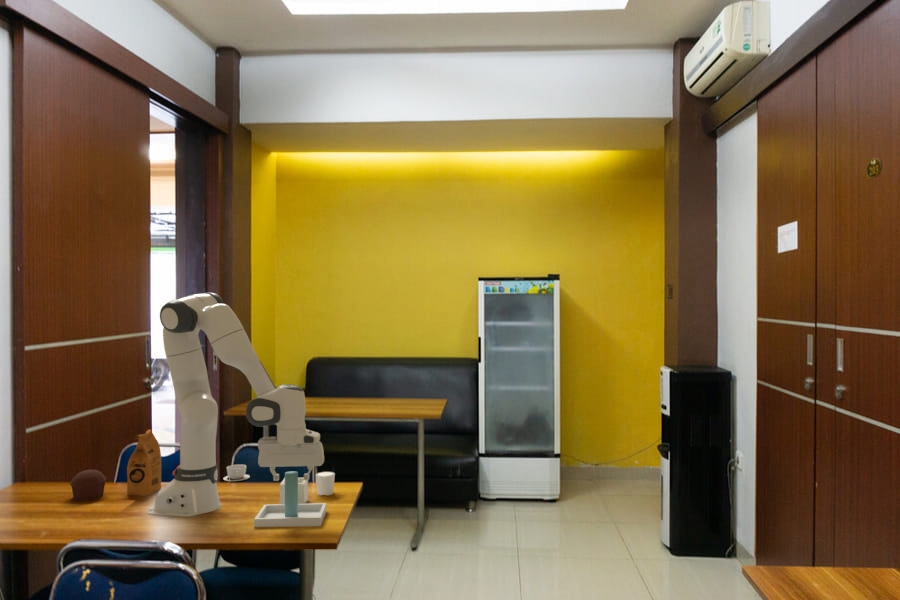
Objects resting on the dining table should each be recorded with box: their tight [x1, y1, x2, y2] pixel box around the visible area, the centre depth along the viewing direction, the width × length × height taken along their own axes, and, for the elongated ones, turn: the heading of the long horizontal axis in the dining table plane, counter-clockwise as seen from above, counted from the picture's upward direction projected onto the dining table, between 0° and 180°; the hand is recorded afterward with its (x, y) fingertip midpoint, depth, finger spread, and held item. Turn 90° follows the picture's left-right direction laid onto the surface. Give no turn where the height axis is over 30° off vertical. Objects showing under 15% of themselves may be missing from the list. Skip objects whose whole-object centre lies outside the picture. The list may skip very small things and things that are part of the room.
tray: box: [253, 502, 327, 528], centre depth 201 cm, size 20×14×3 cm
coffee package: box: [126, 429, 162, 497], centre depth 230 cm, size 10×12×22 cm
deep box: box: [279, 476, 309, 504], centre depth 216 cm, size 8×8×8 cm
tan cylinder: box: [315, 471, 336, 496], centre depth 229 cm, size 7×7×7 cm
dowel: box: [284, 470, 299, 517], centre depth 201 cm, size 4×4×14 cm
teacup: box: [223, 463, 251, 482], centre depth 249 cm, size 10×10×5 cm
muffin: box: [69, 469, 108, 501], centre depth 222 cm, size 12×11×10 cm
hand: (291, 480), depth 201 cm, fingers open, 8 cm apart
